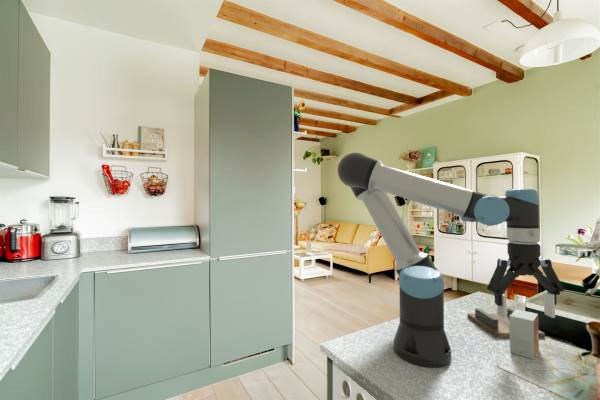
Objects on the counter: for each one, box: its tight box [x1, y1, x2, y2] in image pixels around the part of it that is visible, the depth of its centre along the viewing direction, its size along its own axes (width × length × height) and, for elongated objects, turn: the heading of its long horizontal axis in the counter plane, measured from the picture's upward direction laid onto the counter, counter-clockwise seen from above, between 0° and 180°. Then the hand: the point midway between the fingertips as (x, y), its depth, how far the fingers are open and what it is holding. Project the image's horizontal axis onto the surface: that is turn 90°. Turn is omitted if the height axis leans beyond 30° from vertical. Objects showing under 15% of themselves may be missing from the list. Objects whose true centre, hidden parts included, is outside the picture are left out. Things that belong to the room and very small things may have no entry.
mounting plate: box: [467, 307, 546, 339], centre depth 98 cm, size 15×16×4 cm
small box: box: [509, 308, 540, 360], centre depth 82 cm, size 8×6×10 cm
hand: (525, 316), depth 82 cm, fingers open, 13 cm apart
